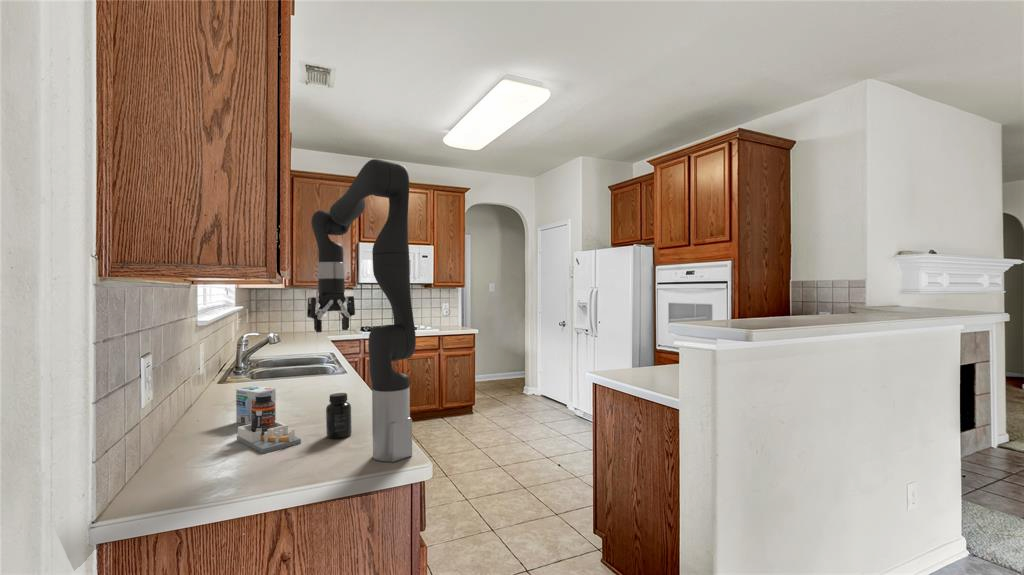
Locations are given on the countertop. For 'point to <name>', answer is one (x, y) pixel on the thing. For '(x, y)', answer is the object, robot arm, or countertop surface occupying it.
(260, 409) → the supplement bottle
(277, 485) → the countertop surface
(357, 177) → the robot arm
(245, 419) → the light bulb box
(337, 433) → the supplement bottle
